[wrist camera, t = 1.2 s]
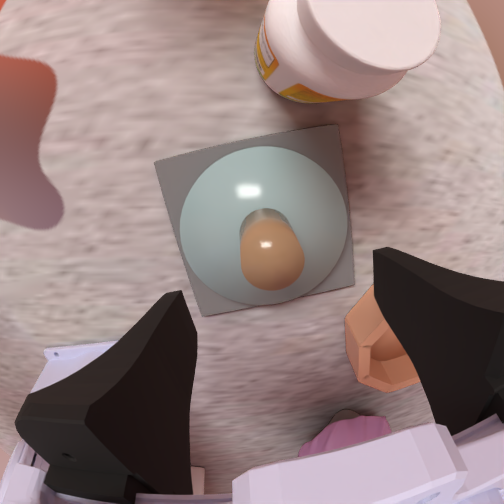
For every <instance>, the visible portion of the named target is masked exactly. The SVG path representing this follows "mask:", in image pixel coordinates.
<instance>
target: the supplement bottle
mask: <svg viewBox="0 0 504 504" xmlns="http://www.w3.org/2000/svg"><path fill="white" fill-rule="evenodd" d="M440 33H441V22H440V15H439V11H438V7H437V5H436V2H435V0H269V2H268V5H267V7H266V11H265V14H264V17H263V20H262V23H261V26H260V29H259V33H258V36H257V39H256V43H255V52H254V54H255V63H256V66H257V69H258V72H259V74H260V76H261V77H262V79H263V80H264V82H265V83H266V84H267V85H268V86H269V87H270V88H271V89H272V90H273V91H274V92H276V93H277V94H279V95H280V96H282V97H284V98H286V99H289V100H292V101H295V102H300V103H322V102H330V101H341V100H355V99H362V98H367V97H372V96H375V95H379V94H381V93H383V92H385V91H387V90H389V89H390V88H392V87H393V86H395V85H396V84H397V83H398V82H399V81H400V80H401V79H402V78H403V76H404V75H405V74H406V72H407V70H410V69H413V68H416V67H418V66H419V65H421V64H423V63H424V62H425V61H427V60H428V59H429V58H430V57H431V55H432V54H433V53H434V51H435V49H436V47H437V45H438V42H439V39H440Z"/></svg>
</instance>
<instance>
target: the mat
mask: <svg viewBox="0 0 504 504" xmlns="http://www.w3.org/2000/svg"><path fill="white" fill-rule="evenodd" d="M254 146H276V147H282V148H286V149H290V150H293V151H295V152H298V153H300V154H302V155H304V156H306V157H307V158H309V159H311V160H312V161H314V162H315V163H317V164H318V165H319V166H320V167H321V168H323V169H324V170H325V171H326V172H327V173H328V175H329V176H330V177H331V178H332V179H333V181H334V182H335V184H336V185H337V187H338V189H339V191H340V193H341V195H342V197H343V200H344V204H345V207H346V213H347V235H346V240H345V244H344V248H343V250H342V253H341V256H340V257H339V259H338V261H337V263H336V265H335V266H334V268H333V269H332V270H331V272H330V273H329V274H328V275H327V276H326V278H325V279H324V280H323V281H322V282H320V283H319V284H318V285H317V286H316V287H314V288H313V289H311V290H310V291H309V292H307V293H305V294H303V295H301V296H299V297H303V296H307V295H312V294H316V293H321V292H325V291H330V290H334V289H338V288H342V287H347V286H351V285H355V282H354V264H353V249H352V236H351V225H350V214H349V204H348V195H347V186H346V178H345V170H344V162H343V155H342V148H341V141H340V135H339V128H338V124H333V125H326V126H319V127H312V128H306V129H299V130H293V131H287V132H282V133H276V134H271V135H265V136H260V137H255V138H250V139H245V140H241V141H236V142H231V143H227V144H222V145H218V146H214V147H209V148H205V149H201V150H197V151H193V152H189V153H185V154H181V155H178V156H174V157H170V158H167V159H163V160H159V161H156V162H154V165H155V168H156V172H157V176H158V179H159V183H160V187H161V190H162V194H163V197H164V201H165V204H166V207H167V211H168V214H169V218H170V221H171V224H172V227H173V231H174V234H175V237H176V240H177V244H178V247H179V250H180V253H181V256H182V259H183V262H184V265H185V268H186V272H187V275H188V278H189V281H190V284H191V286H192V289H193V292H194V295H195V298H196V301H197V304H198V307H199V310H200V313H201V315H202V316H208V315H213V314H219V313H224V312H229V311H235V310H240V309H245V308H250V307H255V306H260V305H251V304H245V303H240V302H236V301H233V300H230V299H228V298H226V297H223V296H221V295H220V294H218V293H216V292H215V291H213V290H212V289H210V288H209V287H208V286H206V285H205V284H204V283H203V282H202V281H201V280H200V279H199V278H198V277H197V275H196V274H195V273H194V271H193V270H192V269H191V267H190V265H189V263H188V261H187V259H186V257H185V254H184V252H183V248H182V244H181V238H180V218H181V213H182V209H183V206H184V203H185V200H186V197H187V196H188V194H189V192H190V190H191V188H192V186H193V184H194V183H195V182H196V180H197V179H198V177H199V176H200V175H201V174H202V173H203V172H204V171H205V170H206V169H207V168H208V167H209V166H210V165H211V164H213V163H214V162H215V161H217V160H218V159H220V158H222V157H223V156H225V155H227V154H229V153H232V152H234V151H236V150H240V149H243V148H247V147H254ZM297 298H298V297H297Z"/></svg>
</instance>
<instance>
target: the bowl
mask: <svg viewBox="0 0 504 504" xmlns="http://www.w3.org/2000/svg"><path fill="white" fill-rule="evenodd" d="M345 338H346V353H347V355H348V358H349V360H350V362H351V365H352V367H353V370H354V372H355V375H356V377H357V379H358V381H359V382H360V383H362V384H365V385H367V386H370V387H373V388H375V389H378V390H381V391H383V392H386V393H387V392H392V391H395V390H398V389H401V388H404V387H407V386H410V385H413V384H416V383H418V382H421V381H420V379H419V376H418V374H417V372H416V370H415V367H414V365H413V363H412V362H411V360H410V358H409V356H408V355H407V353H406V351H405V350H404V348H403V347H402V345H401V343H400V342H399V340H398V339H397V337H396V336H395V334H394V333H393V331H392V329H391V328H390V326H389V325H388V323H387V322H386V320H385V318H384V317H383V315H382V313H381V311H380V309H379V307H378V304H377V302H376V300H375V298H374V284H373V285H372V286H371V287H370V288H369V290H368V291H367V292H366V293H365V294H364V296H363V297H362V298H361V299H360V300H359V301H358V302H357V304H356V305H355V306H354V307H353V308H352V309H351V311H350V312H349V313H348V314H347V315H346V318H345Z"/></svg>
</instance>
